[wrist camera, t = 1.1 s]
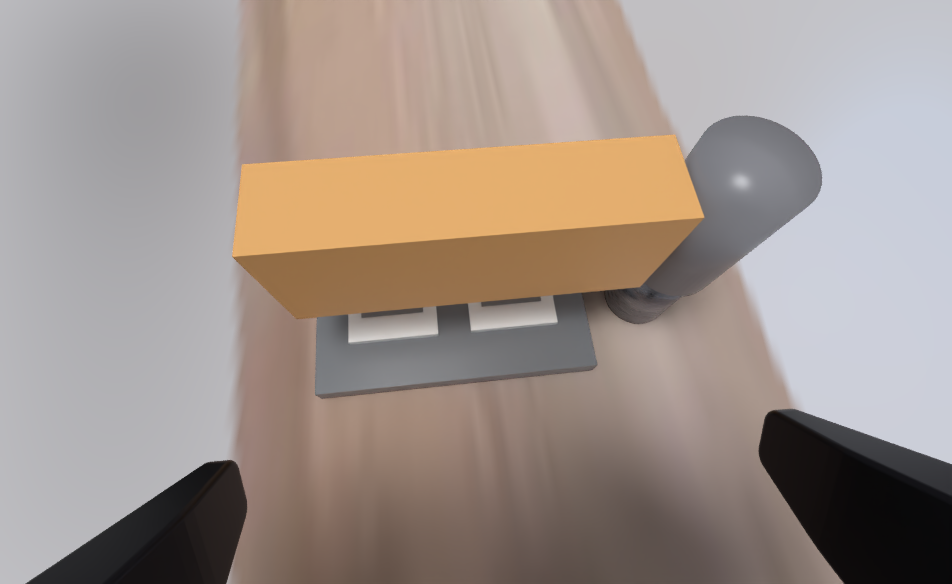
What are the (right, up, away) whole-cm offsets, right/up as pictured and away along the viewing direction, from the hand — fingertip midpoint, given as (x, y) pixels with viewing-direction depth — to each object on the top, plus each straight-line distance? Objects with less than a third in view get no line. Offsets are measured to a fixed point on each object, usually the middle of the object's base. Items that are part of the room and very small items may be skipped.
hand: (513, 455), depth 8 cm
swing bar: (+1, +4, +11) cm, 11 cm away
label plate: (-2, +2, +14) cm, 15 cm away
